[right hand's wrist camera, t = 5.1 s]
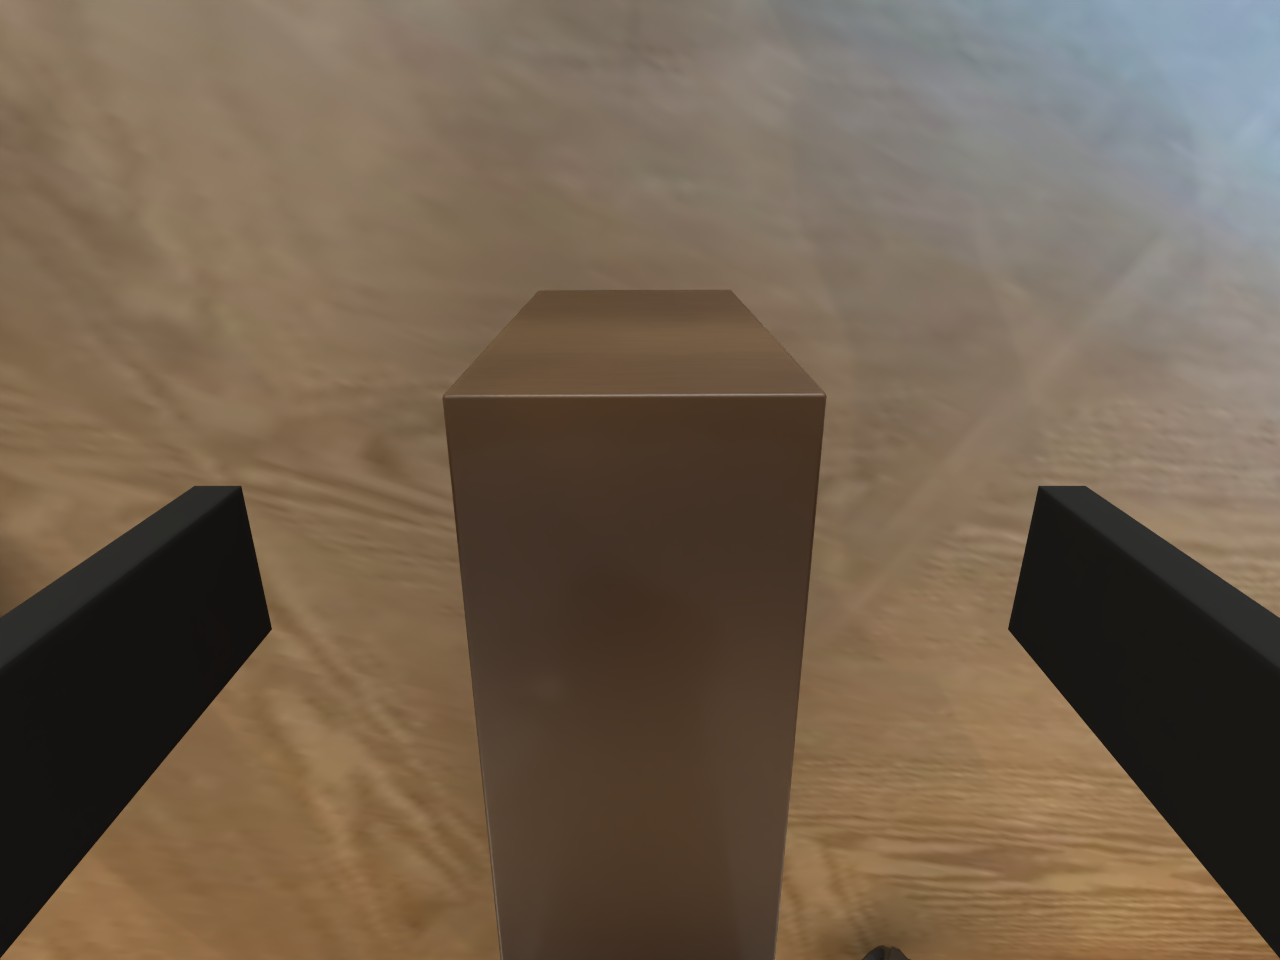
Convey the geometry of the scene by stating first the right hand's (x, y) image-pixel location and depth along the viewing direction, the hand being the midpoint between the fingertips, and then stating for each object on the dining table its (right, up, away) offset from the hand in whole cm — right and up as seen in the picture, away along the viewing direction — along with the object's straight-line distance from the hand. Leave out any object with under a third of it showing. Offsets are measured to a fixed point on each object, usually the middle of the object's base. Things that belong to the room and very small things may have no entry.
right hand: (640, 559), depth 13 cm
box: (0, -5, +14) cm, 15 cm away
